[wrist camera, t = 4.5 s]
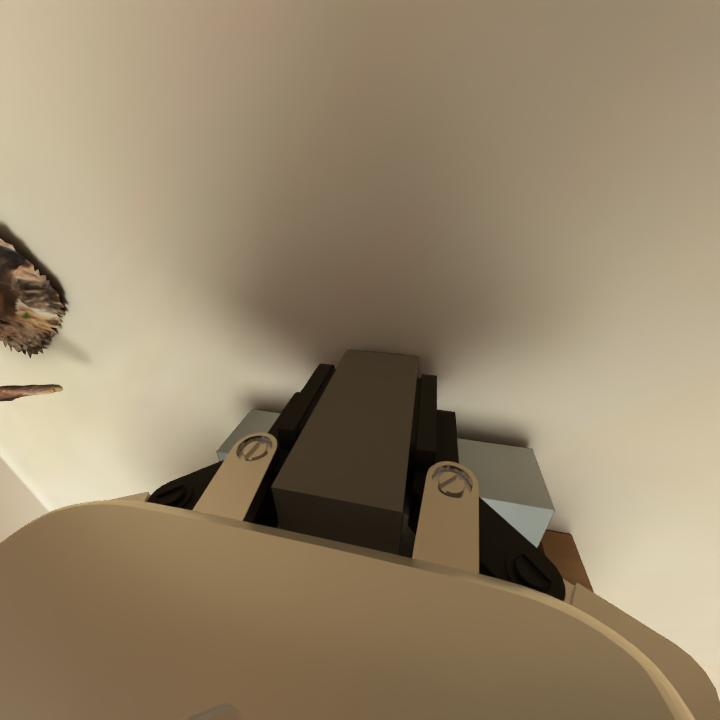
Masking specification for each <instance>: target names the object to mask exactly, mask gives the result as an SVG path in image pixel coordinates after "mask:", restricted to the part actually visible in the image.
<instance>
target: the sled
mask: <svg viewBox="0 0 720 720" xmlns="http://www.w3.org/2000/svg"><path fill="white" fill-rule="evenodd" d="M418 364H419V356H408V355H398V354H387V353H377V352H366V351H355V350H347V351H346V353H345V355H344V356H343V358H342V360H341V362H340V364H339V365H338V367H337V369H336V371H335V373H334V374H333V376H332V378H331V380H330V382H329V383H328V385H327V387H326V389H325V391H324V392H323V394H322V396H321V398H320V400H319V401H318V403H317V405H316V407H315V409H314V410H313V412H312V414H311V416H310V418H309V419H308V421H307V423H306V425H305V427H304V428H303V430H302V432H301V434H300V436H299V437H298V439H297V441H296V443H295V445H294V446H293V448H292V450H291V452H290V454H289V455H288V457H287V459H286V461H285V463H284V464H283V466H282V468H281V470H280V472H279V473H278V475H277V477H276V479H275V481H274V482H273V484H272V486H271V489H272V494H273V498H274V503H275V507H276V512H277V517H278V521H279V526H280V529H282V530H287V531H291V532H296V533H300V534H305V535H310V536H314V537H319V538H323V539H328V540H333V541H337V542H342V543H346V544H351V545H355V546H360V547H364V548H369V549H373V550H378V551H382V552H387V553H391V554H396V555H399V548H400V538H401V529H402V519H403V509H404V499H405V488H406V478H407V468H408V457H409V447H410V438H411V428H412V419H413V410H414V400H415V391H416V382H417V374H418ZM280 414H281V413H275V412H268V411H261V410H253V409H252V410H251V411H250V412H249V413H248V415H247V416H246V417H245V418H244V419H243V421H242V422H241V423H240V424H239V425H238V427H237V428H236V429H235V430H234V431H233V433H232V434H231V435H230V436H229V437H228V438H227V440H226V441H225V442H224V443H223V444H222V446H221V447H220V448H219V449H218V450H217V455H218V458H219V461H223V460H225V459H226V457H227V455H228V454H229V452H230V451H231V449H232V448H233V446H234V445H235V444H236V443H237V441H239V440H240V439H241V438H243V437H245V436H247V435H249V434H253V433H261V432H264V433H268V431H269V430H270V428H271V427H272V425H273V424H274V423H275V421H276V420H277V418H278V417H279V415H280ZM457 442H458V455H459V464H461V465H463V466H464V467H466V468H468V469H469V470H470V471H471V472H472V473H473V474H474V476H475V477H476V479H477V481H478V486H479V497H480V498H481V499H482V500H484V501H485V502H486V503H487V504H488V505H489V506H490V507H491V508H493V509H494V510H495V511H496V512H497V513H498V514H499V515H500V516H501V517H503V518H504V519H505V520H506V521H507V522H508V523H509V524H510V525H512V526H513V527H514V528H515V529H516V530H517V531H518V532H519V533H521V534H522V535H523V536H524V537H525V538H526V539H527V540H528V541H530V542H531V543H532V544H533V545H534V546H535V547H536V548H537V547H538V545H539V543H540V541H541V539H542V536H543V534H544V532H545V530H546V528H547V526H548V524H549V522H550V520H551V517H552V515H553V513H554V511H555V510H554V507H553V504H552V501H551V499H550V496H549V493H548V490H547V488H546V485H545V482H544V479H543V477H542V474H541V471H540V468H539V466H538V463H537V460H536V457H535V455H534V452H533V449H530V448H523V447H516V446H509V445H502V444H495V443H487V442H480V441H473V440H466V439H459V438H457Z"/></svg>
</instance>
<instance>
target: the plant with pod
mask: <svg viewBox="0 0 720 720" xmlns="http://www.w3.org/2000/svg"><path fill="white" fill-rule="evenodd" d="M49 284H50V280H46V275H42V276H40V274H39V271H38V270H36V271H34V265H33V264H31V263H30V262H29V261H28V260H26V259H24V258H23V257H22V255H21V254H19V253H17V252H16V251H15V249H14V247H13V245H10V244H8V243H5V242H4V241H3V240H2V239H0V341H3V342H4V345H5V347H6V346H7V344H8V345H9V346H10V350H12V346H13V347H14V348H15V349H16V350H17V351H18V352H20V351H22V352H23V353H24V354H25V355H26V350H27V352H28V354H29V356H30V358H31V355H32V354H38V351H40V352H41V353H43V350H42V348H45V349H47V348H46V347H44V346H43V345H50V344H49V340H50V339H52V337H53V336H54V335H56V334H58V333H57V332H56V331H54V330H53V329H52V328H50V327H53V328H61V327H60V326H59V323H61V322H60V320H61V319H60V318H59V317H58V316H57V314H58V315H61V316H64V315H63V313H65V312H64V311H63V310H61V309H60V308H65V307H64V306H63V305H62V304H61V302H60V301H59V295H58V293H57V291H56V290H54V289H53V288H52V286H51V285H49ZM65 314H66V313H65ZM64 317H65V316H64ZM59 319H60V320H59ZM62 390H63V388H62V386H60V385H54V384H52V385H26V386H16V385H15V386H1V387H0V401H12V400H14V399H16V398H19V397H23V396H29V395H42V394H49V393H53V392H57V391H62Z"/></svg>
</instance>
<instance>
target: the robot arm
mask: <svg viewBox="0 0 720 720" xmlns="http://www.w3.org/2000/svg"><path fill="white" fill-rule="evenodd" d="M335 371H336V369H335V367H334V365H329V364H319V365H318V367H317V368H316V370H315V371H314V373H313V374H312V376H311V377H310V379H309V380H308V382H307V383H306V385H305V387H304V388H303V390H302V391H301V393H300V392H297V393H295V394H294V395H293V397H292V398H291V399H290V401H289V402H288V404H287V405H286V407H285V408H284V410H283V411H282V412H281V414H280V415H279V417H278V418H277V420H276V421H275V423H274V424H273V425H272V427H271V428H270V430H269V431H268V433H264V432H261V433H253V434H249V435H247V436H245V437H243V438H241V439H240V440H239V441H237V443H236V444H235V445H234V446H233V448H232V449H231V451H230V452H229V454H228V455H227V457H226V459H225V460H223V461H220V462H218V463H216V464H213V465H211V466H208V467H206V468H203V469H201V470H198V471H196V472H193V473H191V474H188V475H186V476H183V477H181V478H178V479H176V480H173V481H171V482H169V483H167V484H165V485H163V486H161V487H160V488H158V489H157V490H156V491H155V492H154V493H153V494H152V495H150V494H149V492H144V493H140V494H135V495H131V496H126V497H121V498H117V499H112V500H103V501H93V502H86V503H80V504H74V505H70V506H66V507H63V508H59V509H56V510H53V511H51V512H49V513H46V514H44V515H42V516H40V517H39V518H37V519H35V520H33V521H31V522H30V523H28V524H27V525H25V526H24V527H22V528H21V529H19V530H18V531H16V532H15V533H14V534H12V535H11V536H9V537H8V538H7V539H5V540H4V541H3V542H1V543H0V720H720V701H719V698H718V695H717V691H716V688H715V687H714V685H713V684H712V682H711V680H710V679H709V677H708V675H707V674H706V672H705V671H704V670H703V669H702V668H701V667H700V665H699V664H698V663H697V662H696V661H695V660H694V659H693V658H692V657H691V656H690V655H689V654H687V653H686V652H685V651H684V650H682V649H681V648H680V647H678V646H677V645H676V644H674V643H673V642H671V641H670V640H668V639H666V638H665V637H663V636H662V635H660V634H658V633H657V632H655V631H654V630H652V629H650V628H649V627H647V626H646V625H644V624H642V623H641V622H639V621H638V620H636V619H635V618H633V617H631V616H630V615H628V614H627V613H625V612H623V611H622V610H620V609H619V608H617V607H615V606H614V605H612V604H611V603H609V602H607V601H606V600H604V599H603V598H601V597H599V596H598V595H596V594H595V593H593V592H592V591H590V590H588V589H587V588H585V587H584V586H582V585H580V584H579V583H576V585H575V586H574V585H572V584H571V583H569V582H568V581H566V580H564V579H563V578H562V576H561V574H560V572H559V571H558V569H557V567H556V566H555V565H554V564H553V563H552V562H551V561H550V560H549V559H548V557H546V556H545V555H544V554H543V553H542V552H541V551H540V550H539V549H537V548H536V547H535V546H534V545H533V544H532V543H531V542H530V541H528V540H527V539H526V538H525V537H524V536H523V535H522V534H521V533H519V532H518V531H517V530H516V529H515V528H514V527H513V526H512V525H510V524H509V523H508V522H507V521H506V520H505V519H504V518H503V517H501V516H500V515H499V514H498V513H497V512H496V511H495V510H494V509H493V508H491V507H490V506H489V505H488V504H487V503H486V502H485V501H484V500H482V499H481V498H480V497H479V486H478V481H477V479H476V477H475V476H474V474H473V473H472V472H471V471H470V470H469V469H468V468H466V467H464V466H463V465H461V464H459V455H458V442H457V429H456V416H455V412H451V411H443V410H437V376H434V375H424V374H422V378H418V377H417V382H416V391H415V400H414V410H413V419H412V428H411V438H410V447H409V457H408V468H407V478H406V488H405V499H404V509H403V514H407V515H409V519H408V526H409V528H410V529H411V530H412V531H413V533H414V534H415V535H416V538H415V544H414V549H413V555H412V558H409V557H405V556H400V555H396V554H391V553H387V552H382V551H378V550H373V549H369V548H364V547H360V546H355V545H351V544H346V543H342V542H337V541H333V540H328V539H323V538H319V537H314V536H310V535H305V534H300V533H296V532H291V531H287V530H282V529H280V526H279V521H278V517H277V512H276V507H275V503H274V498H273V494H272V489H271V486H272V484H273V482H274V481H275V479H276V477H277V475H278V473H279V472H280V470H281V468H282V466H283V464H284V463H285V461H286V459H287V457H288V455H289V454H290V452H291V450H292V448H293V446H294V445H295V443H296V441H297V439H298V437H299V436H300V434H301V432H302V430H303V428H304V427H305V425H306V423H307V421H308V419H309V418H310V416H311V414H312V412H313V410H314V409H315V407H316V405H317V403H318V401H319V400H320V398H321V396H322V394H323V392H324V391H325V389H326V387H327V385H328V383H329V382H330V380H331V378H332V376H333V374H334V373H335Z"/></svg>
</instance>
